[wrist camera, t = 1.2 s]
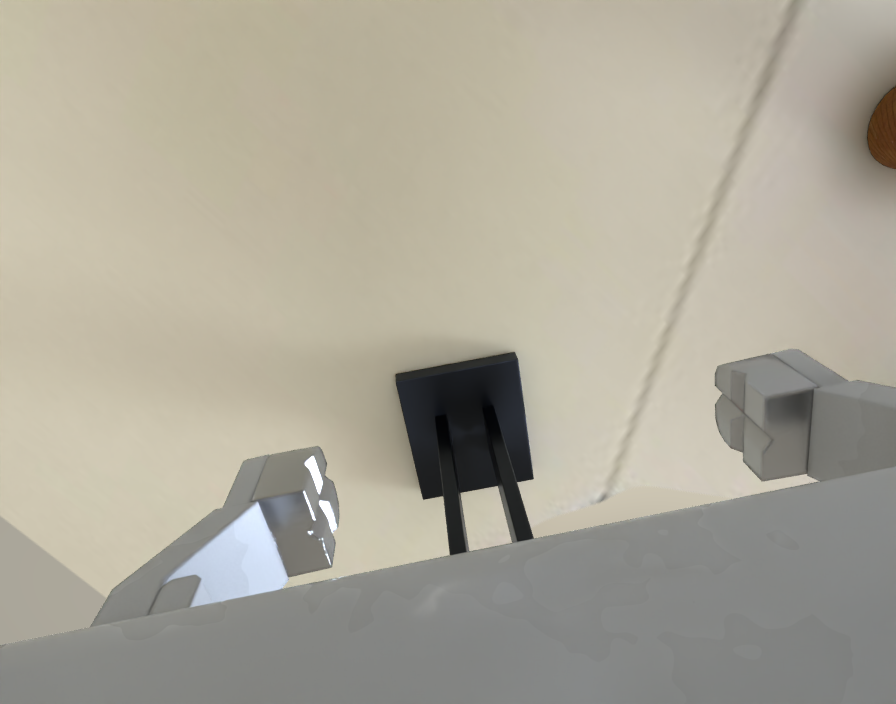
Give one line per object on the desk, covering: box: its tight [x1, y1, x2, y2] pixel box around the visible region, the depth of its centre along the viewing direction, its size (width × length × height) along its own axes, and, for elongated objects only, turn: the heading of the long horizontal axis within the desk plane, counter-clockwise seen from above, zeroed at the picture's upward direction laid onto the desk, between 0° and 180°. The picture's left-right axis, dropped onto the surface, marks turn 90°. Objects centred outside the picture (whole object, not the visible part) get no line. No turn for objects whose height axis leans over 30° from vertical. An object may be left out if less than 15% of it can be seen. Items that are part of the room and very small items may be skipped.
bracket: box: [396, 352, 534, 555], centre depth 39 cm, size 12×10×27 cm
